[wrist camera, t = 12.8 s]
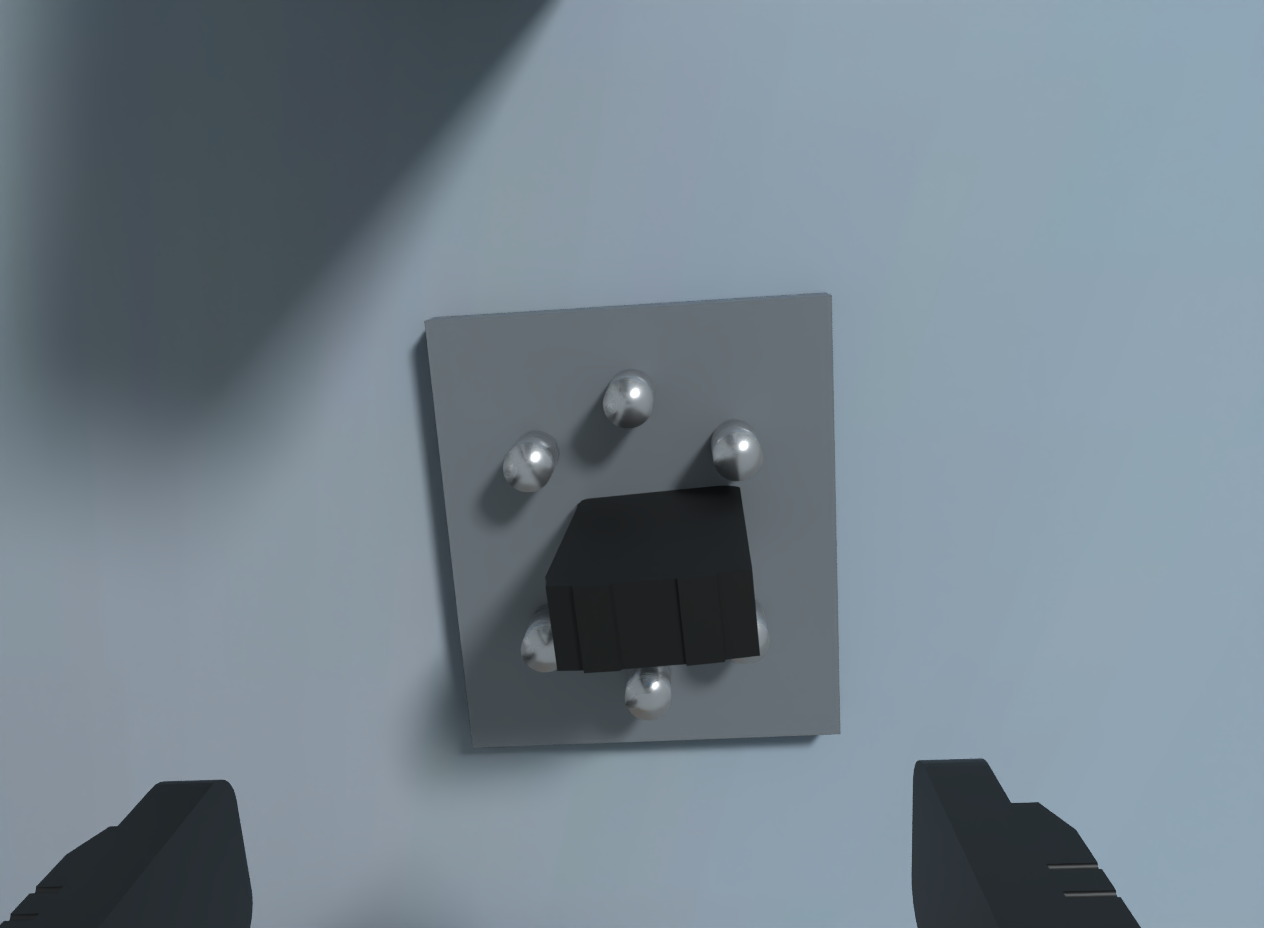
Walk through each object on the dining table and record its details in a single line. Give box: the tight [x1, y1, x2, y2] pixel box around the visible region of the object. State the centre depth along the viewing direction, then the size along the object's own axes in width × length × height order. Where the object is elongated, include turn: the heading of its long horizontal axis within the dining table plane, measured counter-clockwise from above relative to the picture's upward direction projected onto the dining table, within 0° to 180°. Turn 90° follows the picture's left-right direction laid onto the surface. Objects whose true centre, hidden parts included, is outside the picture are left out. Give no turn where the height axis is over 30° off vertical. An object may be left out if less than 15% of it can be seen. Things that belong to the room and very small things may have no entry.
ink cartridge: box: [545, 485, 760, 673], centre depth 27 cm, size 5×2×8 cm, turn 96°
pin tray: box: [425, 293, 840, 748], centre depth 31 cm, size 12×14×3 cm
